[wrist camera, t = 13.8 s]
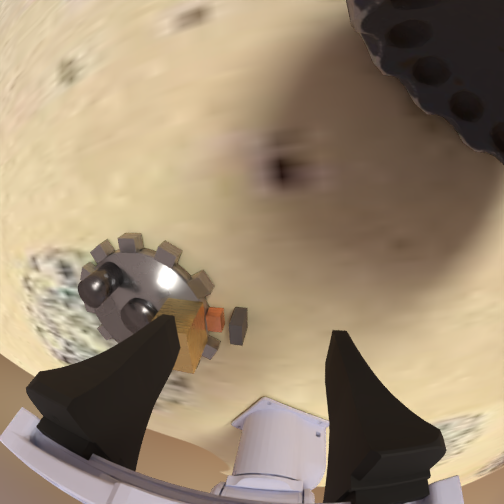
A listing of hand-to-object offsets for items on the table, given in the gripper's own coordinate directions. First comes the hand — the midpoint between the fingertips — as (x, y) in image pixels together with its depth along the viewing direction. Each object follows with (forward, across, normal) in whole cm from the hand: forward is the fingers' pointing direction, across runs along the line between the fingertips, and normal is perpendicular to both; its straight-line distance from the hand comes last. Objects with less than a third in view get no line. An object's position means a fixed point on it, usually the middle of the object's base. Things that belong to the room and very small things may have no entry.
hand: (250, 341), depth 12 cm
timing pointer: (+9, +2, +6) cm, 11 cm away
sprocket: (+9, +11, +6) cm, 16 cm away
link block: (+8, +6, +6) cm, 12 cm away
